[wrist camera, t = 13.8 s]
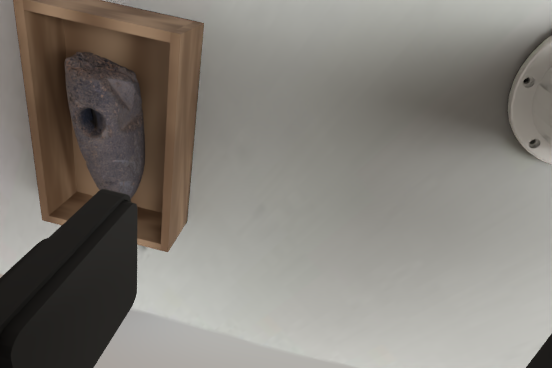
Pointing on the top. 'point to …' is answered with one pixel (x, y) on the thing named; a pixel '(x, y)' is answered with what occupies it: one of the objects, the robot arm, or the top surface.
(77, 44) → the box
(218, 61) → the top surface
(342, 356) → the top surface
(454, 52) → the top surface
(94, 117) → the perforated stone tool
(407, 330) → the top surface
